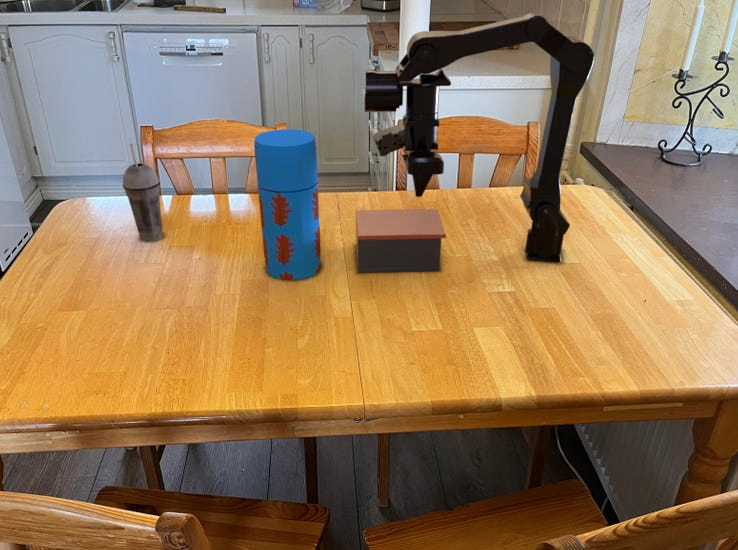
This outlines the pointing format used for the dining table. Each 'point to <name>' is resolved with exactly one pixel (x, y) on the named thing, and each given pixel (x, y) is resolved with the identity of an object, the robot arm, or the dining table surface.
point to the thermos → (289, 202)
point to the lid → (399, 224)
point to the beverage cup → (144, 199)
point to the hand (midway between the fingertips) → (418, 196)
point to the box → (398, 255)
